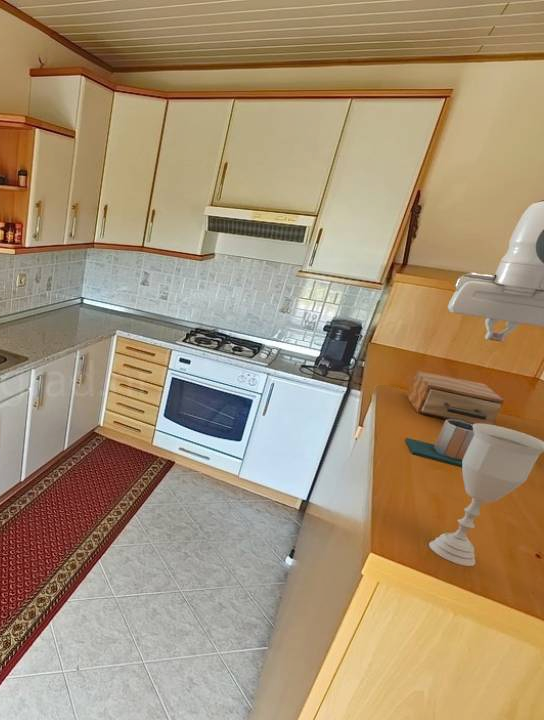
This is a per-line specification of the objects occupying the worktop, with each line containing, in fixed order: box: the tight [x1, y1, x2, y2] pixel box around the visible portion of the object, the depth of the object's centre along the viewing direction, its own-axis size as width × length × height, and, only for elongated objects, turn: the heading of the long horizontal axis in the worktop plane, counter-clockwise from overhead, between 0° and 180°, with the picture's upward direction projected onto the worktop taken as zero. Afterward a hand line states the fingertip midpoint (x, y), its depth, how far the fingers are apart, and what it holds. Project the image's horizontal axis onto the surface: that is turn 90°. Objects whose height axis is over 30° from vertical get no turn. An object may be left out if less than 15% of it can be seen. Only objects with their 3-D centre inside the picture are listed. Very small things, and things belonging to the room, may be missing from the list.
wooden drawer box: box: [422, 388, 502, 425], centre depth 120 cm, size 19×13×6 cm
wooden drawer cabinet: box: [406, 370, 505, 425], centre depth 124 cm, size 15×15×8 cm
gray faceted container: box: [434, 419, 474, 461], centre depth 97 cm, size 6×6×6 cm
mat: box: [405, 437, 462, 468], centre depth 98 cm, size 14×8×1 cm, turn 61°
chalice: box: [428, 423, 544, 567], centre depth 64 cm, size 7×7×18 cm
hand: (493, 340), depth 110 cm, fingers closed
